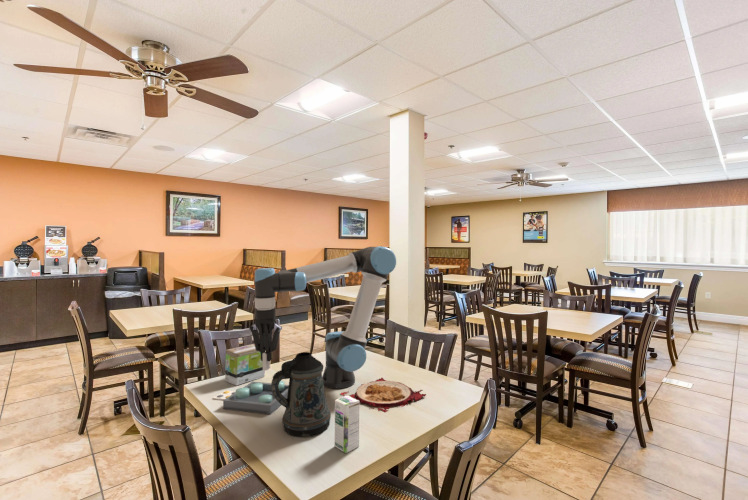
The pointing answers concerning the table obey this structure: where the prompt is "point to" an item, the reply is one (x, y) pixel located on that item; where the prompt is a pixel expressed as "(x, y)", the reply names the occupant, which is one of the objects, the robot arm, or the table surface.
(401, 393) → the plate with food
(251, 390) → the button
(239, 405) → the button board
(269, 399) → the button
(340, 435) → the syrup box
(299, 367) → the beer stein
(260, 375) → the tea box
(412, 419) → the table surface
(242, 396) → the button
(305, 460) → the table surface
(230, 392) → the card
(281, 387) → the button
